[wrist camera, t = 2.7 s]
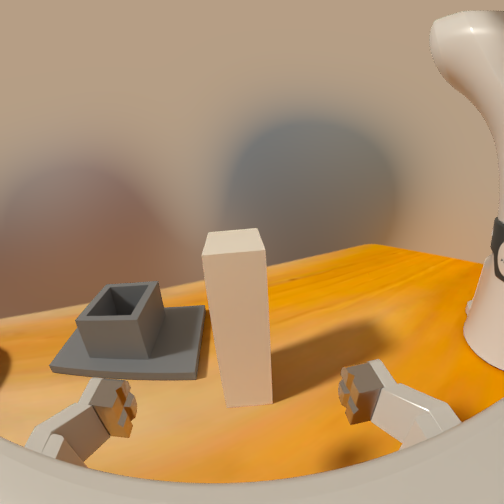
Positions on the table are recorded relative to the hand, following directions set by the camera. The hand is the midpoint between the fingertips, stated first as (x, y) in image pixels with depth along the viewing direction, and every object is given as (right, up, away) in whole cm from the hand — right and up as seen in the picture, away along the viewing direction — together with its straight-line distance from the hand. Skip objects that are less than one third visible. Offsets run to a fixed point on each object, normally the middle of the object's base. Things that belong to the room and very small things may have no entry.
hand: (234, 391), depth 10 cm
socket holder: (-14, -6, +22) cm, 27 cm away
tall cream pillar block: (0, -7, +15) cm, 17 cm away
